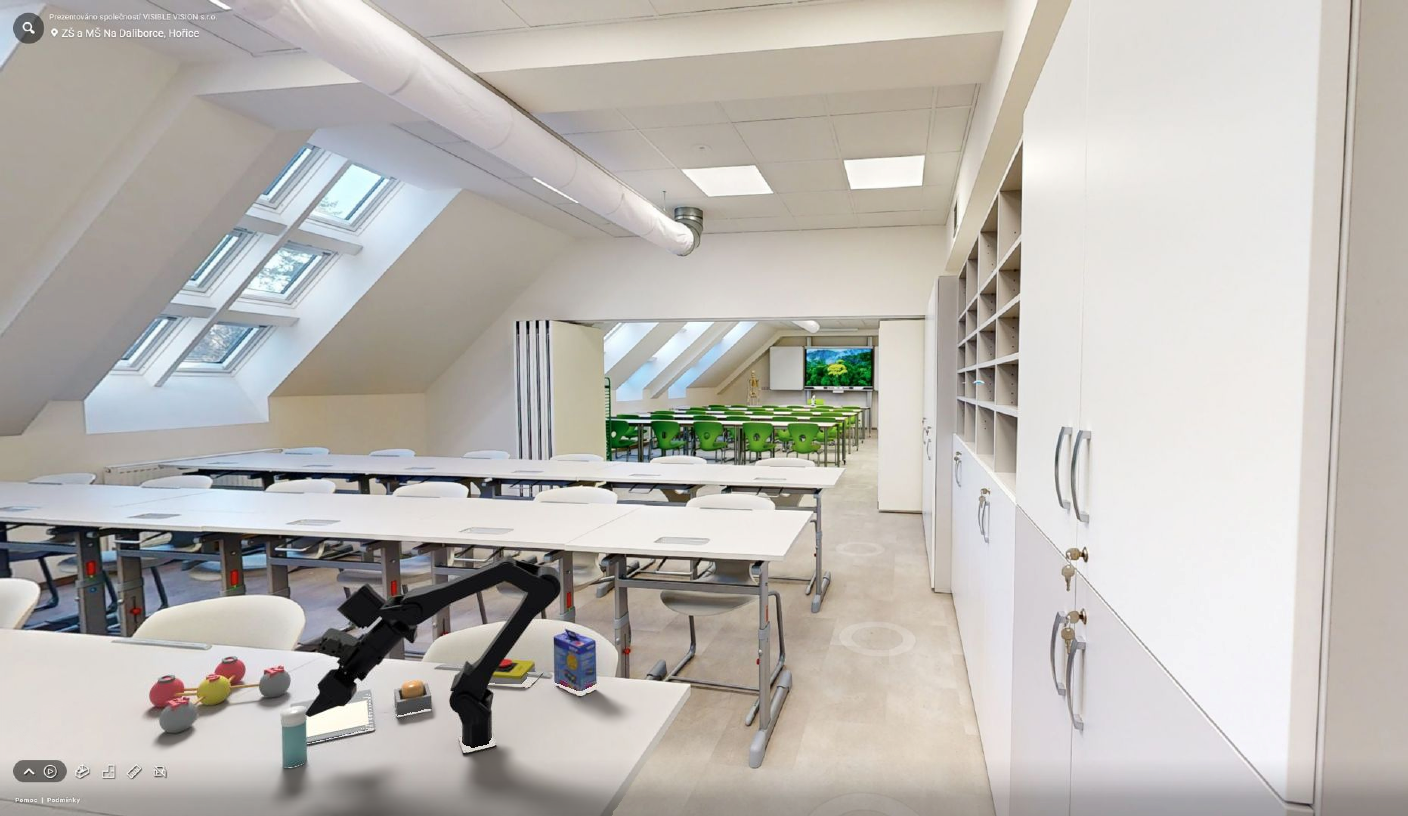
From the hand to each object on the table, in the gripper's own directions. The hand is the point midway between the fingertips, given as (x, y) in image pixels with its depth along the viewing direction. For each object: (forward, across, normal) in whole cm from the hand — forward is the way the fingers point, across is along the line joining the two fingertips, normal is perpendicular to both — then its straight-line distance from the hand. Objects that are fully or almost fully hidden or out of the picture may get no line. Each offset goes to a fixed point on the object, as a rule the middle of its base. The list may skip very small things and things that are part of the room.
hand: (315, 703), depth 131 cm
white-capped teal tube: (+10, 0, +5) cm, 12 cm away
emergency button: (-16, -30, +32) cm, 47 cm away
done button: (-4, -18, +16) cm, 25 cm away
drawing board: (+10, -17, +6) cm, 20 cm away
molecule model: (+30, -30, -13) cm, 44 cm away
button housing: (-2, -18, +18) cm, 26 cm away
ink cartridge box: (-27, -21, +43) cm, 55 cm away
